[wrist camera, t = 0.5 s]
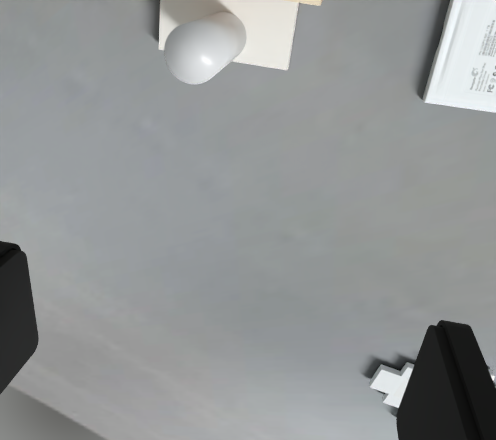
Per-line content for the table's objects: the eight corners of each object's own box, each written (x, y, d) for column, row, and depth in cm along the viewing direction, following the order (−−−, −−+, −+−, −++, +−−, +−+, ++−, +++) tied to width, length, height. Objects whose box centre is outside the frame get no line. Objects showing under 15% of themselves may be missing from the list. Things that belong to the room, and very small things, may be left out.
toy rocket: (353, 399, 46) (354, 418, 44) (397, 331, 42) (400, 349, 40) (501, 451, 47) (509, 472, 45) (562, 389, 42) (574, 410, 40)
